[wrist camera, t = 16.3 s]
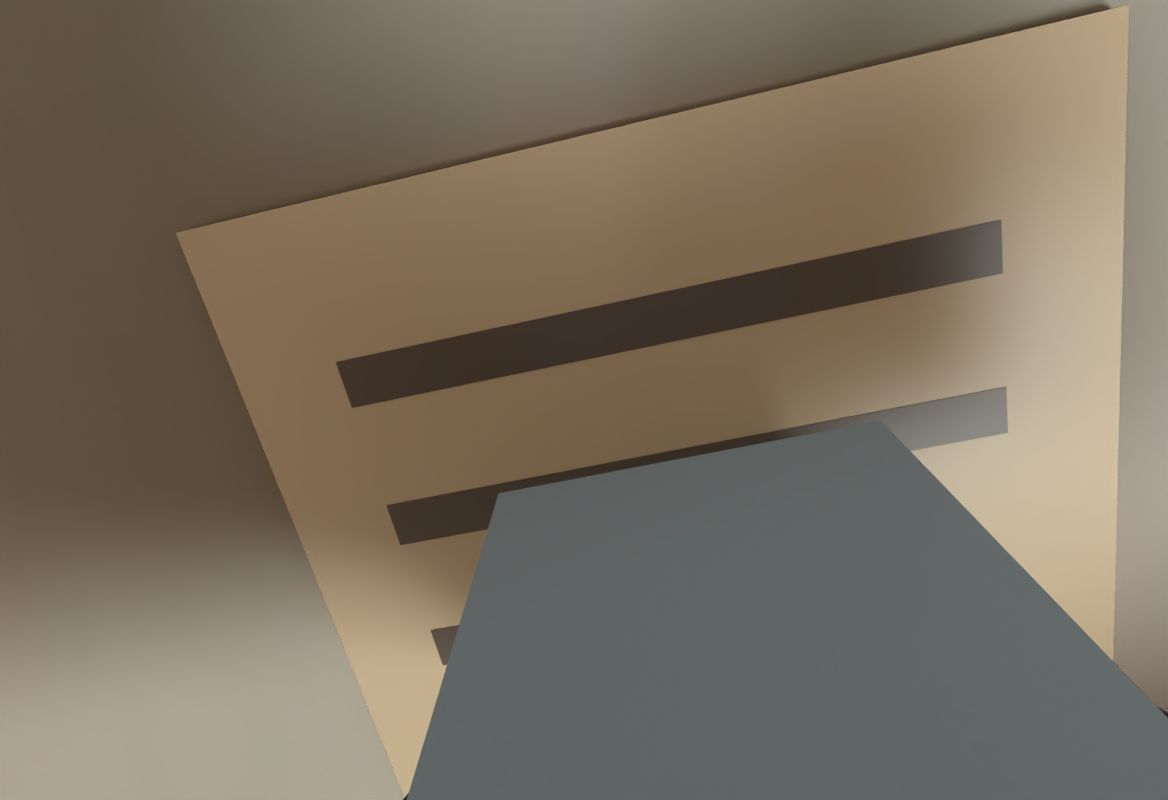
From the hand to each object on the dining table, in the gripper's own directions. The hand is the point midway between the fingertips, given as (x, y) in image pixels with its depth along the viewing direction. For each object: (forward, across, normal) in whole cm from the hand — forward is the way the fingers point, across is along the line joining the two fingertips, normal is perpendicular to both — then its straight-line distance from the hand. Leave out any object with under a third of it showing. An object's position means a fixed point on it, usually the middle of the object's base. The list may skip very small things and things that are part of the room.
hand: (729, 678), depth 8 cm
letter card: (+3, 0, 0) cm, 3 cm away
